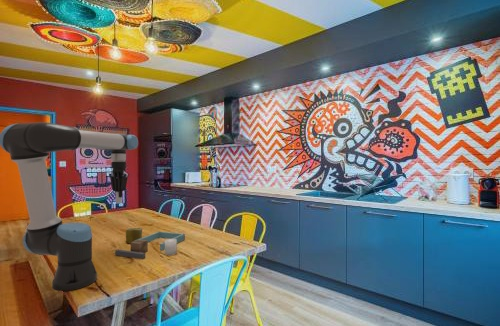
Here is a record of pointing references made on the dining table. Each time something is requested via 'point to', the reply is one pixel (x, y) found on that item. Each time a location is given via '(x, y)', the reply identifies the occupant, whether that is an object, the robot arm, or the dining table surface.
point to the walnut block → (139, 246)
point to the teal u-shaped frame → (164, 235)
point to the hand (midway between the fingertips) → (118, 203)
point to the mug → (133, 234)
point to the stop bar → (130, 254)
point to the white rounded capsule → (170, 246)
